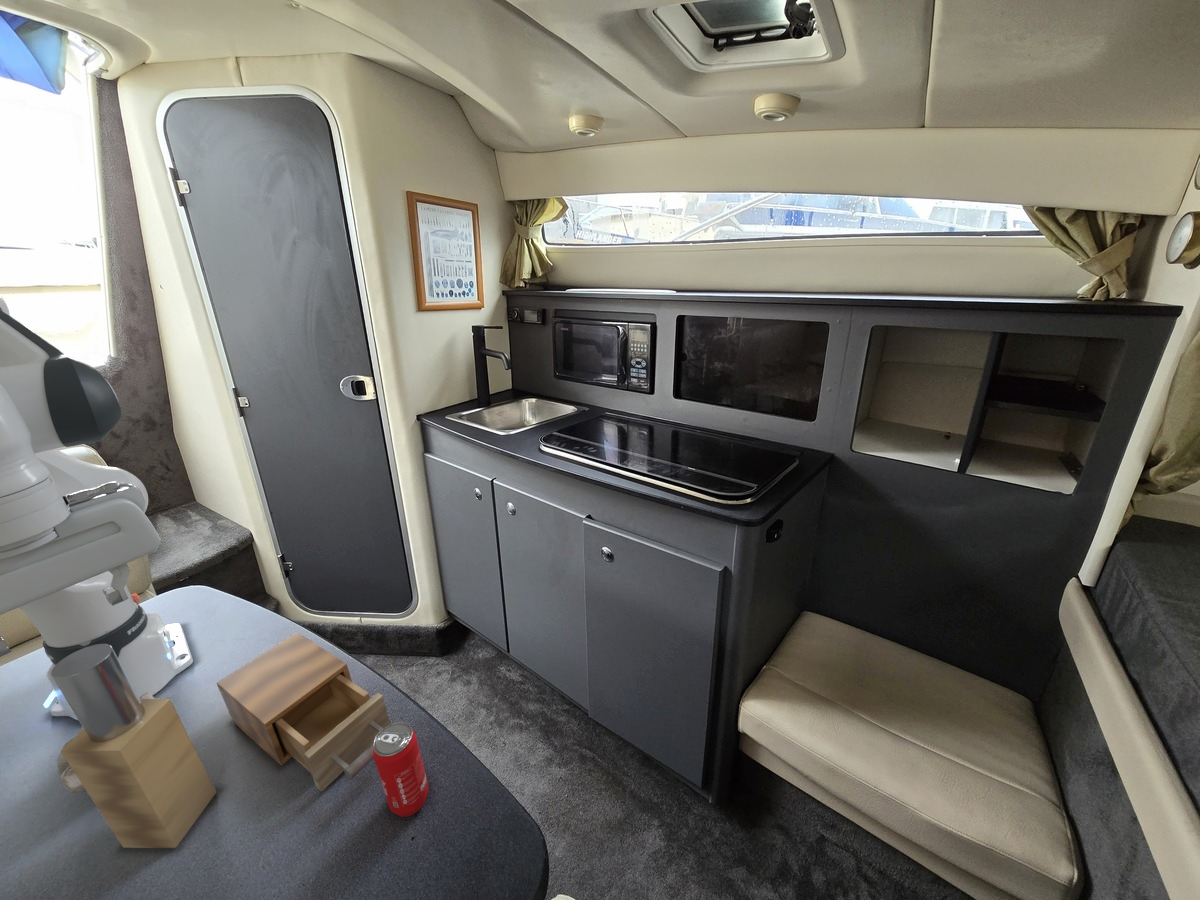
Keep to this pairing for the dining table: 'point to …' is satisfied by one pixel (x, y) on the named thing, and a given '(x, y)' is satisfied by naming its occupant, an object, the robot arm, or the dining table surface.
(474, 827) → the dining table surface
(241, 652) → the dining table surface
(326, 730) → the drawer
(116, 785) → the wooden block
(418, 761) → the beverage can
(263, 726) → the cabinet
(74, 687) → the tin
